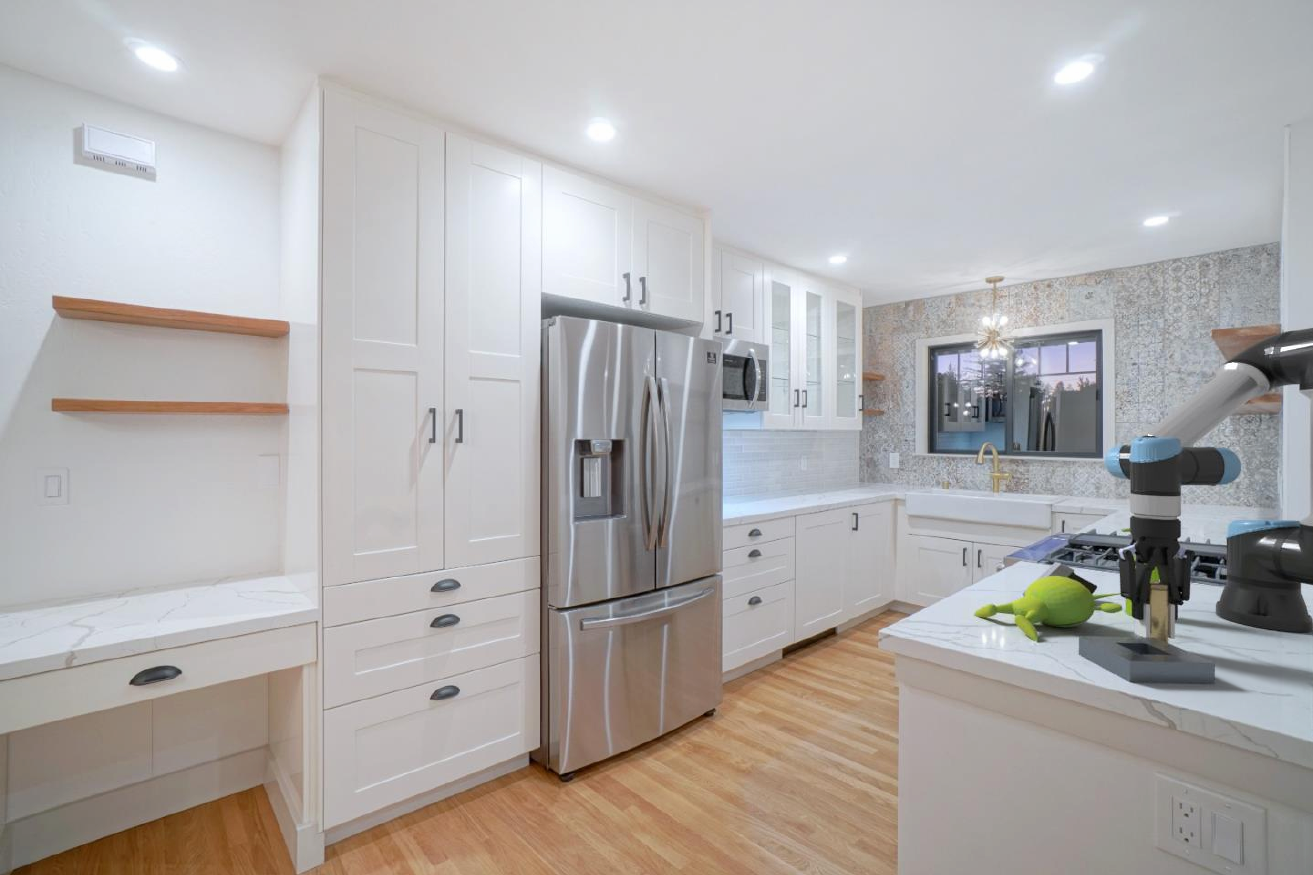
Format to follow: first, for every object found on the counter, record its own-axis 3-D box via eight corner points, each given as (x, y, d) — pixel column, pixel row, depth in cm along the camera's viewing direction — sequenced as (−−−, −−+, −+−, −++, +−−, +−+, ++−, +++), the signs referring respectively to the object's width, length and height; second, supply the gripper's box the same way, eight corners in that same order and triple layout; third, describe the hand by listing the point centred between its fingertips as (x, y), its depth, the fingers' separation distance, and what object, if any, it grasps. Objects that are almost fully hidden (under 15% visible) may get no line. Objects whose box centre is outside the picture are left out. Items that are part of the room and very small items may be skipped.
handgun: (1047, 626, 147) (1018, 591, 146) (1089, 586, 148) (1060, 551, 147) (1058, 631, 143) (1028, 595, 143) (1101, 590, 144) (1072, 554, 143)
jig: (1154, 656, 108) (1154, 637, 108) (1214, 683, 96) (1215, 662, 96) (1078, 654, 109) (1079, 636, 109) (1129, 681, 97) (1129, 660, 97)
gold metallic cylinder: (1156, 640, 114) (1156, 580, 114) (1173, 648, 110) (1174, 585, 110) (1135, 640, 114) (1135, 580, 114) (1152, 647, 110) (1152, 585, 110)
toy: (1046, 659, 114) (1163, 620, 120) (1037, 607, 113) (1155, 570, 120) (971, 627, 133) (1076, 595, 139) (963, 583, 133) (1068, 553, 139)
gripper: (1182, 513, 116) (1181, 629, 116) (1096, 513, 116) (1095, 629, 116) (1217, 519, 108) (1217, 643, 108) (1125, 519, 109) (1125, 642, 109)
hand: (1154, 635), depth 112 cm, fingers closed on gold metallic cylinder, 4 cm apart
